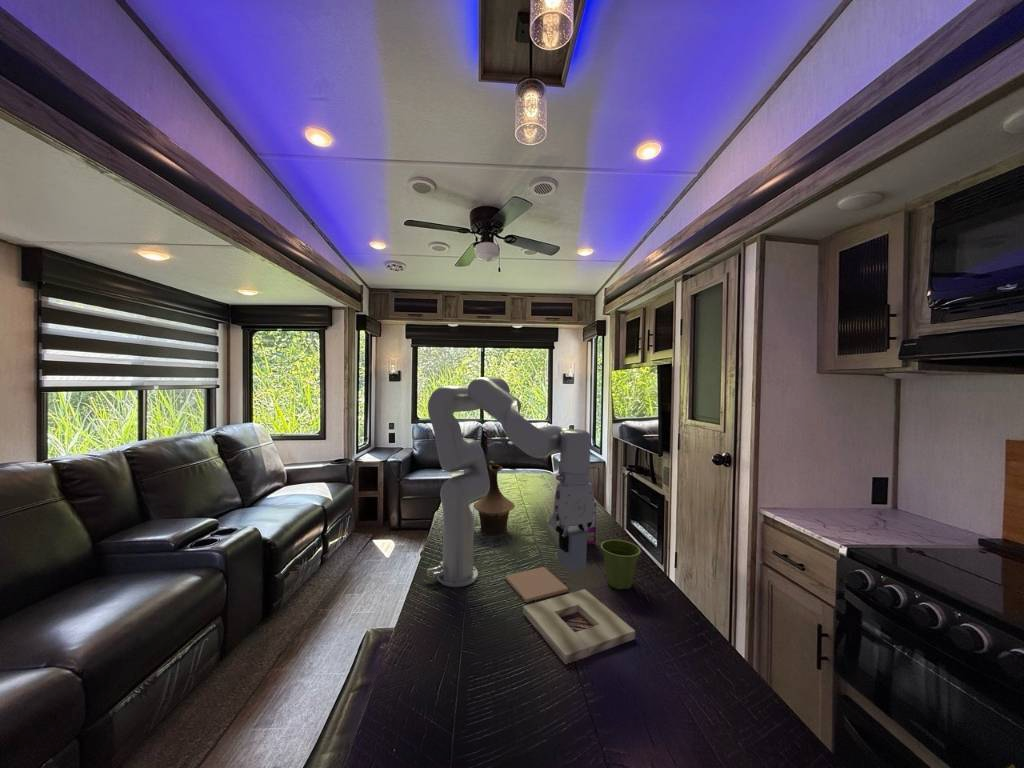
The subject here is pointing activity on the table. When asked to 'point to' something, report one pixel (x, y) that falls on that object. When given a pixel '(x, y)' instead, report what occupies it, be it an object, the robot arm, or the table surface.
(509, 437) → the robot arm
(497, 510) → the brown vase
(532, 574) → the tile
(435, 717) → the table surface
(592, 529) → the candy bar box
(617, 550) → the plant pot
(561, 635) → the holder
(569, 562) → the block
